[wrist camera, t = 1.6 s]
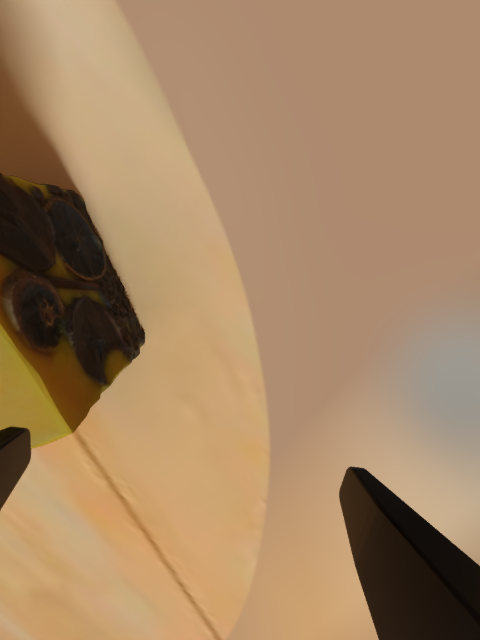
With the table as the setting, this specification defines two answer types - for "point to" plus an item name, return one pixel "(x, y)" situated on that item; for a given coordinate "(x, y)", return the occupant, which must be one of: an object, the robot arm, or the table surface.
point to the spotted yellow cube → (56, 312)
